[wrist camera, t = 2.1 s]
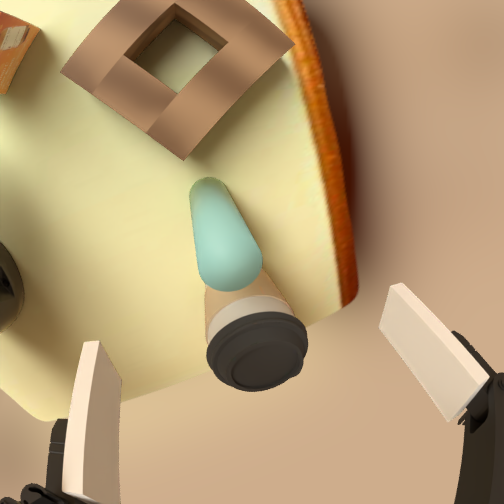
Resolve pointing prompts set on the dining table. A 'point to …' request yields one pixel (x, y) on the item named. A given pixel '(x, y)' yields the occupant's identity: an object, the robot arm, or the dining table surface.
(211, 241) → the peg
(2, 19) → the small box
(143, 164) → the dining table surface
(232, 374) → the coffee cup
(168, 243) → the dining table surface
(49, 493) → the robot arm
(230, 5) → the socket
